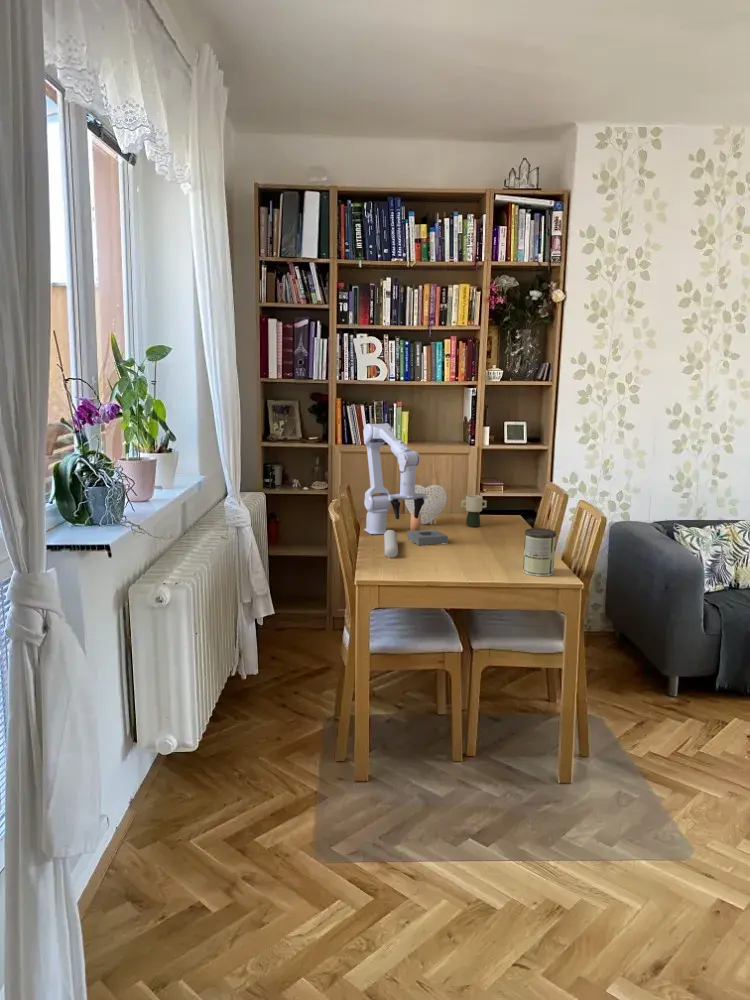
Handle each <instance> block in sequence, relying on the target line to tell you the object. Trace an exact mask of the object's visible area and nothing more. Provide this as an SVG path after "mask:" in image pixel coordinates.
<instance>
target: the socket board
mask: <svg viewBox="0 0 750 1000" xmlns="http://www.w3.org/2000/svg"><path fill="white" fill-rule="evenodd" d="M406 534H407V535H406V536H407V537H406V538H408V540H409V541H410V540H411V541H410V542H412V543H414V544H415V543H416V544H415V545H417V544H418V545H417V546H429V545H428V544H435V545H443V544H442V543H449V542H448V539H449V536H448V535H447V534H444V533H443V532H442V531H439V530H437V529H423V530H422V529H420V530H418V531H410V530H407V533H406Z"/></svg>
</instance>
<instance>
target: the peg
mask: <svg viewBox="0 0 750 1000" xmlns="http://www.w3.org/2000/svg"><path fill="white" fill-rule="evenodd" d="M421 516H422V515H421V513H419V516H418V518H414V513H410V526H409V528H410V530H409V531H418V530H421V525H422V523H421Z"/></svg>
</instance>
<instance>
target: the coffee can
mask: <svg viewBox="0 0 750 1000" xmlns="http://www.w3.org/2000/svg"><path fill="white" fill-rule="evenodd" d="M556 537H557V531H555V530H552V529H548V528H539V527H537V528H535V527H532V528H527V529H525V530H524V545H523V547H524V548H523V551H524V552H523V567H522V573H523V574H525V573H526V575H528V574H530V575H529V576H532V575H536V576H535V577H549V576H553V575H554V572H555V571H554V569H555V555H556V554H555V551H556V540H557V539H556Z"/></svg>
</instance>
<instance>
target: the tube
mask: <svg viewBox="0 0 750 1000" xmlns="http://www.w3.org/2000/svg"><path fill="white" fill-rule="evenodd" d="M383 541H384V545H383V546H384V556H386V557H387V558H388V557H389V558H388V559H395V558H396V557H397V556H398V552H399V549H398V548H399V547H398V533H397V532H396V531H395V530H394V529H393V530H392V529H386V532H385V533H384V534H383ZM394 557H395V558H394Z"/></svg>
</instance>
